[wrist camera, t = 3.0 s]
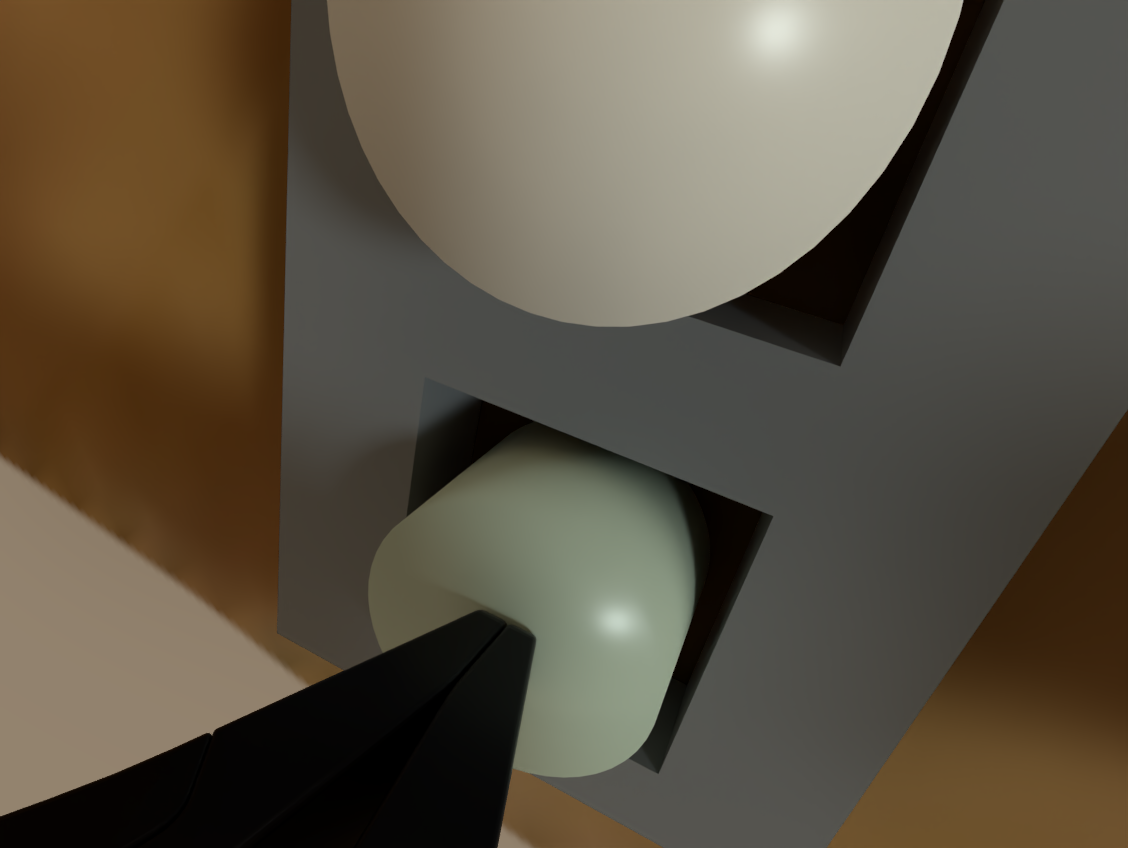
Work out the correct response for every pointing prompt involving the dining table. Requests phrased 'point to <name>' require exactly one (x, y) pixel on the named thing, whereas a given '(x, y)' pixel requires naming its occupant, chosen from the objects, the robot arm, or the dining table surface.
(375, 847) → the robot arm
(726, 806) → the button panel
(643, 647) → the sage button
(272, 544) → the dining table surface
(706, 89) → the cream button
